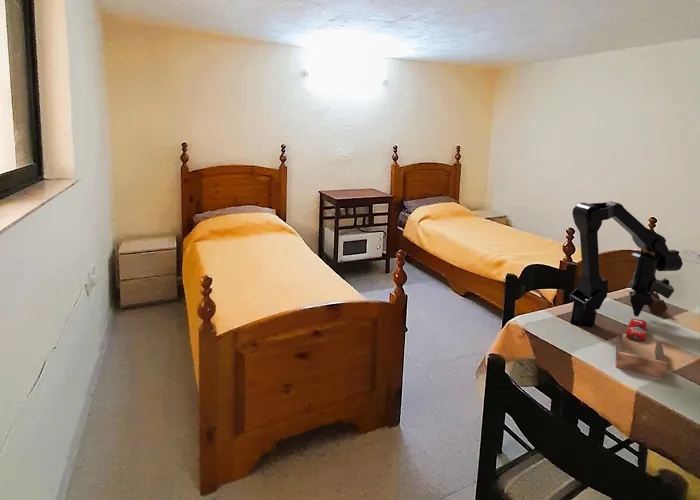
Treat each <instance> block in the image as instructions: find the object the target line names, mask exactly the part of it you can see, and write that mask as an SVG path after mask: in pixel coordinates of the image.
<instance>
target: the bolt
mask: <svg viewBox="0 0 700 500" xmlns="http://www.w3.org/2000/svg"><path fill="white" fill-rule="evenodd" d="M648 293H649V292H648ZM649 294H651V295H652V296H653V297H654V304H653V306H648V305H647V307H648V309H649V311H650V313H651V314H655V315H663V314H665V313H666V311H667V310H668V309H669V308H668V305H667V304H666V301H665V300H664V299H661V297H660V296H659V295H660V294H658V293H656V292H654V294H653V293H649Z"/></svg>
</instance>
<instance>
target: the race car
mask: <svg viewBox="0 0 700 500" xmlns="http://www.w3.org/2000/svg"><path fill="white" fill-rule="evenodd" d="M626 326H627V328H626V331H625V332H626V333H625V338H628V339H629V340H633V341H639V342H645V341H646V338H647V331H648V324H647V320H646V321H645V320H644V319H640V318H630V319H629V321H628V323H627V324H626Z"/></svg>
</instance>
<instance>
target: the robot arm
mask: <svg viewBox="0 0 700 500" xmlns="http://www.w3.org/2000/svg"><path fill="white" fill-rule="evenodd" d="M571 213H572V219H573V221H574V224H575V226H576V228H577V230H578V232H579V237H580V254H581V255H580V256H581V270H582V271H581V272H582V274H581V276H580V277H579V280H578V285H577V287H576V288H575V289H574V290H573V291H572V292H571V293H569V299H570V301H572V302H573V303H572V304H573V305H572V312H571V317H570V321H569V323H570V324H572V325H578V326H582V327H587V328H593V325H595V323H596V317H597V311H598V310H600V309H601V307H602V305H603V303H604V301H605V300H606V299H607V297H608V293H610V291H609V289H608V286H609V281H608V279H606V278H604V277H602V276H601V274H600V273H601V272H600V255H599V254H600V252H599V239H598V235H599V233H598V232H599V230H600V228H601V226H602V225H603V221H606V220H610V219H613V220H614V221H615V223H618V225H619V226H620V227H622V228H623V229H624V230H625V231H626V232H627V233H628V234H630V235H631V237H632V241H633V242H634V244H635V245H636V247H637V248H639V249H641V250H639V249H637V251H635V252H633V253H631V257H633V258H634V259H636V263H635V268H634V270H633V277H632V279H631V280H630V281H629V285H628V286H629V289H631V290H632V291H629V303H630V304H631V307H632V311H633V315H634V317H637V318H638V317H639V316H640V314H641V313H642V310H643V308H644V307H645V306H647V307H648V306H653V304H654V297H653V296H652V295H651V294H649V293H653V294H654V292H655V293H658V295H661V296H662V297H663V298H665V299H670V297H671V296H672V295H673V294H674V292H675V288H674V287H673V286H672V285H671V284H670V280H669V279H667V278H665V277H664V278H662V279H657V277H656V273H657V271H658V272H677V271H680V270H681V269H682V267H683V265H684V264H683V259H682V257H681V256H680V251H679V250H677V249H669V247H668V246H667V239H666V238H665V236H663V235H661V234H659V233H658V232H656V231H654V230H651V229H649V228H647V227H646V226H645V225H644V224H643V223H642V222H640V220H639V219H637V218H636V217H635V216H634V215H632V214H631V212H630V211H628V209H626V207H624V206H623V204H621V203H620V202H616V201H607V202H596V203H595V202H593V203H587V202H585V201H584V202H579V203H577V205H575V206H574V207H573V208H572V211H571ZM642 250H644V251H647V252H644V251H642ZM648 292H649V293H648Z"/></svg>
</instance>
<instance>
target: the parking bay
mask: <svg viewBox="0 0 700 500" xmlns="http://www.w3.org/2000/svg"><path fill="white" fill-rule="evenodd" d="M623 337H624V336H623V334H621V333H617V336H616V343H615V368H620V369H624V370H629V371H632V372H633V371H634V372H638V373H640V374H641V373H642V374H646V375H648V376H649V375H650V376H655V377H657V378H663V379H664V378H665V376H666V371H667V366H668V362H667V361H666V359H665V352H664V346H663V342H660V341H656V345H655V348H654V355H655V358H651V357H646V356H643V355H637V354H632V353H628V352H623V346H624V345H623V342H624V340H623V339H624V338H623Z"/></svg>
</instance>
